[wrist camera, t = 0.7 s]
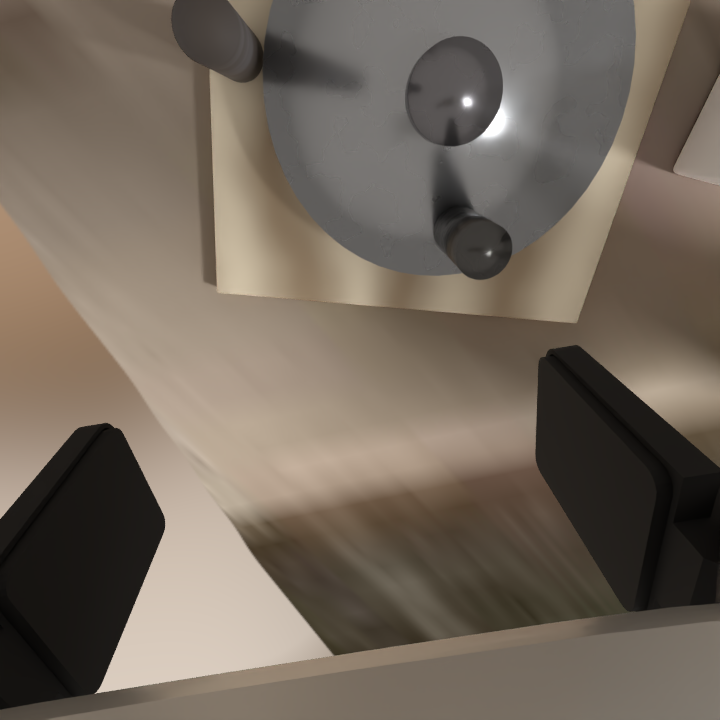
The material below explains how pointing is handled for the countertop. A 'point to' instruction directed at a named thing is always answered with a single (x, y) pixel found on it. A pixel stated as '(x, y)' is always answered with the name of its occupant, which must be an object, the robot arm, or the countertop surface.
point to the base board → (342, 267)
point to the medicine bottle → (703, 143)
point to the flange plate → (444, 120)
